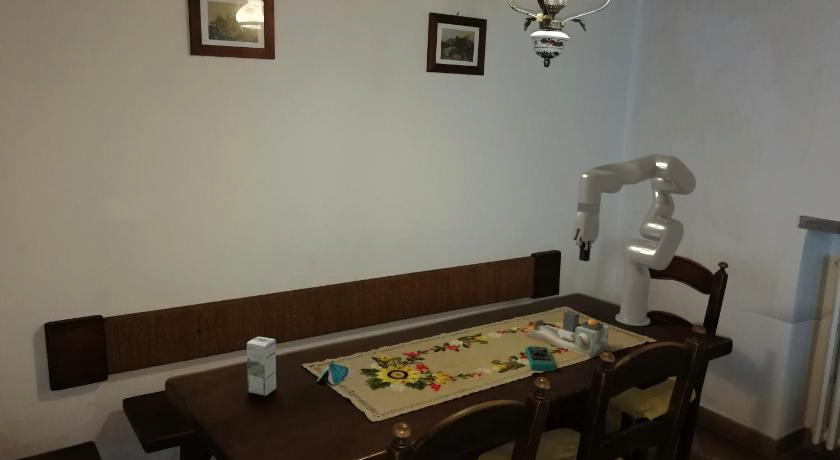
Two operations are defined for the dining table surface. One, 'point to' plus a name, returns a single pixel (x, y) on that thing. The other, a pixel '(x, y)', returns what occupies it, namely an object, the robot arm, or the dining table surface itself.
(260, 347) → the syrup box
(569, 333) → the carriage
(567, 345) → the rail bed
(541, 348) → the digital multimeter
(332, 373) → the decorative butterfly
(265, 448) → the dining table surface
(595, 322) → the button
